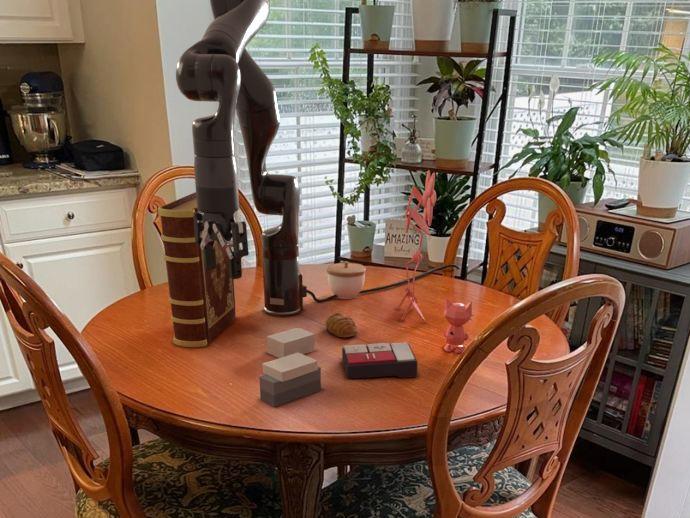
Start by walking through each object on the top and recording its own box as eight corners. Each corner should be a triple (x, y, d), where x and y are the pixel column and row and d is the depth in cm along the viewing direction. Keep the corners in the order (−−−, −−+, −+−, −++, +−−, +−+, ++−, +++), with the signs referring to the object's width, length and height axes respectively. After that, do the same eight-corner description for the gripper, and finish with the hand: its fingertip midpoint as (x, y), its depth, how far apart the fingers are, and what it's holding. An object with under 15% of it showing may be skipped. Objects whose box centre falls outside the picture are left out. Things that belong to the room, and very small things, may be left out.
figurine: (400, 332, 175) (408, 179, 157) (391, 300, 197) (398, 163, 179) (462, 332, 176) (477, 180, 158) (446, 300, 198) (458, 164, 180)
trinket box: (320, 298, 197) (320, 264, 192) (336, 288, 206) (336, 255, 201) (355, 303, 194) (356, 269, 189) (370, 293, 202) (371, 259, 197)
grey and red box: (341, 343, 157) (408, 339, 158) (342, 362, 159) (408, 357, 160) (346, 362, 148) (417, 357, 149) (347, 382, 150) (417, 376, 151)
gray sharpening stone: (306, 383, 147) (306, 360, 145) (321, 390, 145) (320, 367, 142) (260, 399, 140) (259, 376, 137) (274, 407, 137) (273, 383, 135)
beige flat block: (298, 361, 144) (297, 352, 143) (317, 370, 141) (317, 360, 140) (262, 373, 139) (262, 363, 138) (282, 382, 135) (282, 372, 134)
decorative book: (203, 349, 162) (189, 211, 147) (170, 346, 164) (153, 208, 148) (237, 318, 181) (228, 193, 165) (207, 315, 182) (196, 190, 167)
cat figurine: (471, 347, 167) (477, 297, 161) (465, 357, 162) (470, 305, 155) (442, 343, 169) (446, 293, 163) (435, 353, 164) (439, 301, 157)
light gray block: (297, 343, 167) (297, 327, 165) (314, 350, 163) (314, 334, 161) (267, 353, 161) (266, 336, 159) (284, 360, 158) (283, 343, 156)
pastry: (363, 337, 171) (364, 322, 169) (338, 341, 169) (338, 325, 167) (347, 325, 179) (347, 310, 177) (322, 328, 176) (322, 313, 174)
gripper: (257, 186, 126) (261, 278, 134) (212, 176, 134) (218, 263, 143) (221, 190, 121) (227, 285, 129) (177, 179, 130) (186, 269, 138)
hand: (223, 273), depth 136 cm, fingers open, 8 cm apart
